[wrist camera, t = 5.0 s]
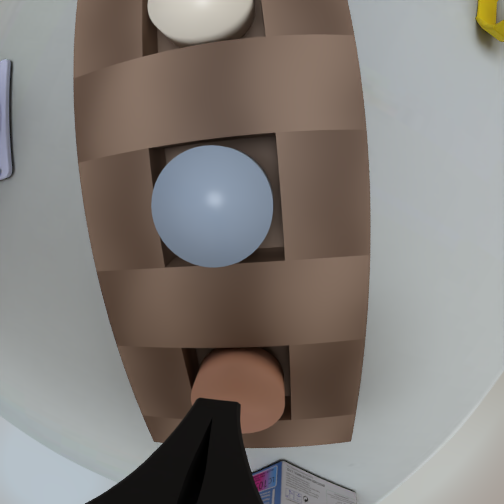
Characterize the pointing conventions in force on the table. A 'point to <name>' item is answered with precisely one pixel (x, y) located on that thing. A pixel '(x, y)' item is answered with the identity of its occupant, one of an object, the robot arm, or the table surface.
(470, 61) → the table surface
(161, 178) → the slate blue button
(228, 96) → the button panel
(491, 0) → the watch
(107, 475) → the table surface
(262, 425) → the terracotta button
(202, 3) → the cream button
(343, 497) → the ink cartridge box
